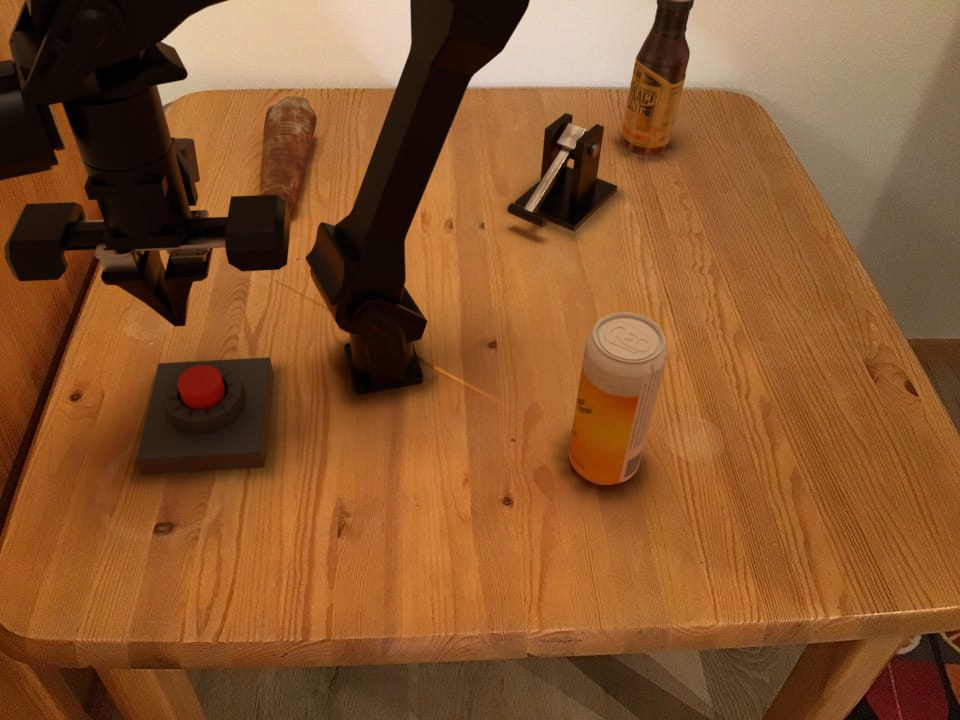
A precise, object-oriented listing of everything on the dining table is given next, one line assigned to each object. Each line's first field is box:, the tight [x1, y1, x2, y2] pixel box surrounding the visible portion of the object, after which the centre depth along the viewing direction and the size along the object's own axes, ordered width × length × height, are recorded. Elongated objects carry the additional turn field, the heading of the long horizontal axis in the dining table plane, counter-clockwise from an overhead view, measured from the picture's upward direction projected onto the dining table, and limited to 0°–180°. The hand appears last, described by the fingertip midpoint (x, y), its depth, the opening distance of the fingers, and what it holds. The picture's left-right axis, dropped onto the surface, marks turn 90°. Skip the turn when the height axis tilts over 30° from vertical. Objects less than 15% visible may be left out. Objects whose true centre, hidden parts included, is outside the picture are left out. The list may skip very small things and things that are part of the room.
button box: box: [136, 356, 274, 476], centre depth 74 cm, size 11×10×4 cm
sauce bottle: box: [621, 0, 695, 156], centre depth 102 cm, size 7×6×20 cm
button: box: [177, 365, 225, 410], centre depth 72 cm, size 4×4×2 cm
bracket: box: [514, 112, 618, 232], centre depth 96 cm, size 10×8×10 cm
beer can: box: [568, 311, 669, 486], centre depth 68 cm, size 6×6×15 cm
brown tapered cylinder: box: [259, 95, 318, 215], centre depth 100 cm, size 6×19×6 cm, turn 1°
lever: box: [506, 123, 588, 228], centre depth 93 cm, size 12×4×2 cm, turn 145°
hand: (181, 322), depth 67 cm, fingers closed
